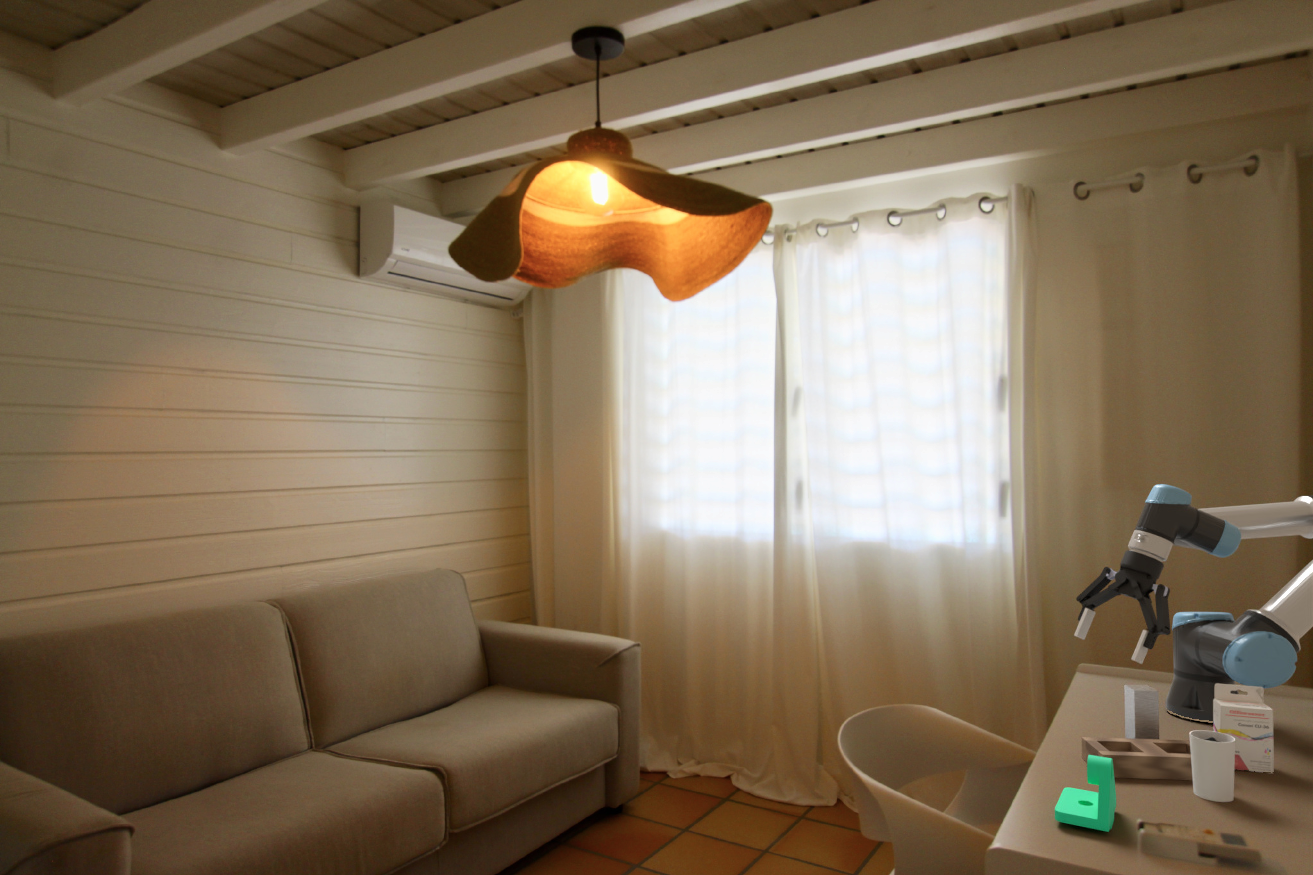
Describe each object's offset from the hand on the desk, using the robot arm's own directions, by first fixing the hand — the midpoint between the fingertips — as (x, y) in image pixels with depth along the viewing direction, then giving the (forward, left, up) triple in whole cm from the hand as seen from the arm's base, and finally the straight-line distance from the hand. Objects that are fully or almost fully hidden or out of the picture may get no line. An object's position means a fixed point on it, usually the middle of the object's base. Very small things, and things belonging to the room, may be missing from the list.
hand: (1106, 649), depth 179 cm
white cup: (-4, +32, -18) cm, 37 cm away
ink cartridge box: (-17, +17, -18) cm, 30 cm away
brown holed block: (+1, +20, -18) cm, 27 cm away
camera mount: (+21, +44, -18) cm, 52 cm away
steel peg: (-3, +8, -18) cm, 20 cm away
